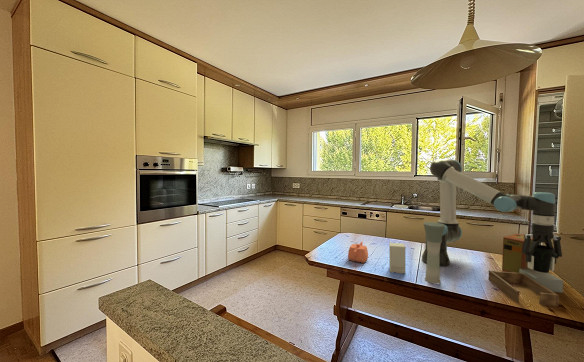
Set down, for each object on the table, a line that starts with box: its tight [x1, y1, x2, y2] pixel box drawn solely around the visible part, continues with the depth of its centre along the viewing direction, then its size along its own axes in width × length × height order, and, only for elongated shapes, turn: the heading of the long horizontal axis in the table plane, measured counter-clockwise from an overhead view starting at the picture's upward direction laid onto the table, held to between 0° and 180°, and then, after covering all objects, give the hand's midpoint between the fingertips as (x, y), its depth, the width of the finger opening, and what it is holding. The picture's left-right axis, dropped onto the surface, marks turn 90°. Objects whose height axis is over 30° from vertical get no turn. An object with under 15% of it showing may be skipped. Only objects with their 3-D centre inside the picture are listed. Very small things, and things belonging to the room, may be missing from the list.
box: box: [501, 233, 537, 273], centre depth 136 cm, size 17×9×20 cm, turn 117°
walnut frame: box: [487, 270, 560, 308], centre depth 114 cm, size 15×22×5 cm
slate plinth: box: [519, 269, 564, 294], centre depth 120 cm, size 11×11×6 cm
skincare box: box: [388, 242, 406, 275], centre depth 137 cm, size 8×7×16 cm
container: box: [423, 221, 445, 284], centre depth 125 cm, size 10×10×30 cm
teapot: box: [347, 241, 369, 264], centre depth 155 cm, size 12×18×10 cm, turn 149°
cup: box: [532, 244, 554, 273], centre depth 119 cm, size 8×8×12 cm
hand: (540, 269), depth 119 cm, fingers closed on cup, 8 cm apart
